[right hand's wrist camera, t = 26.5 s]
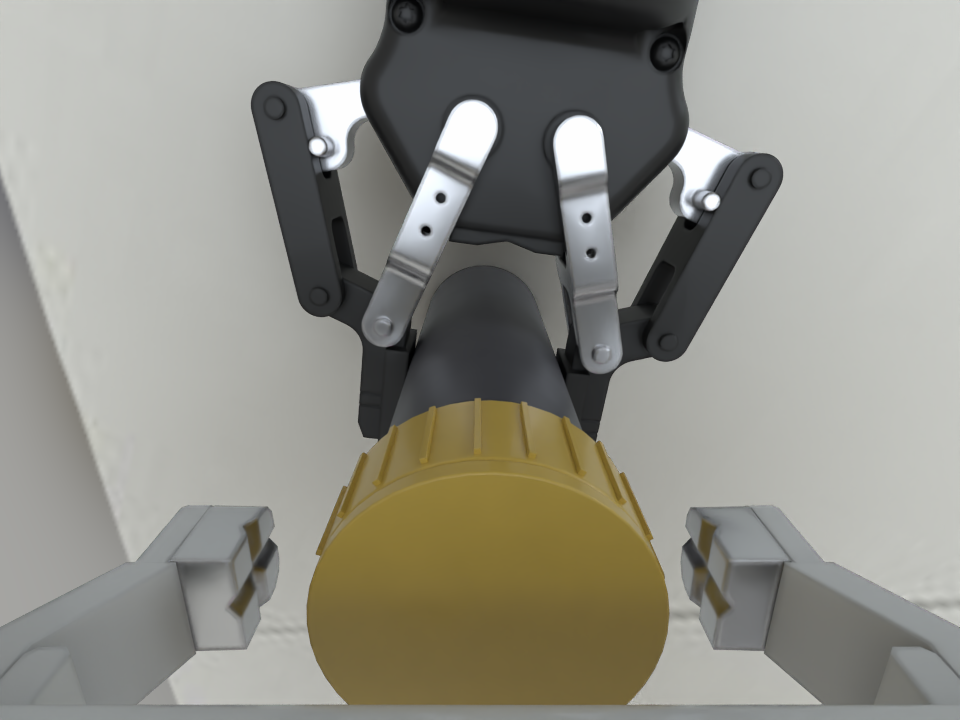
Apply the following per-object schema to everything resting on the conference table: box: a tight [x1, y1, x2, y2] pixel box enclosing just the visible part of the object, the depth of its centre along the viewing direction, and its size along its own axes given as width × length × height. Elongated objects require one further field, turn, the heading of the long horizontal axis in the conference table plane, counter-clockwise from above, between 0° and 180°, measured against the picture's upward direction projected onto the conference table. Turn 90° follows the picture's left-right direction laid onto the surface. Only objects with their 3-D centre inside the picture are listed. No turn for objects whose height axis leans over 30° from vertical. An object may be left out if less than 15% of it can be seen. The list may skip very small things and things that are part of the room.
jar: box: [388, 266, 582, 432], centre depth 17 cm, size 5×5×15 cm
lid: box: [307, 398, 669, 705], centre depth 10 cm, size 6×6×2 cm
